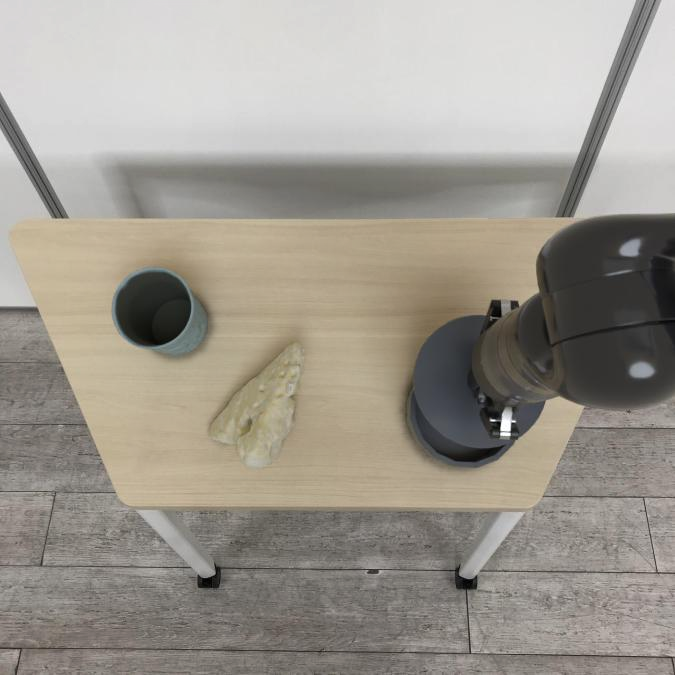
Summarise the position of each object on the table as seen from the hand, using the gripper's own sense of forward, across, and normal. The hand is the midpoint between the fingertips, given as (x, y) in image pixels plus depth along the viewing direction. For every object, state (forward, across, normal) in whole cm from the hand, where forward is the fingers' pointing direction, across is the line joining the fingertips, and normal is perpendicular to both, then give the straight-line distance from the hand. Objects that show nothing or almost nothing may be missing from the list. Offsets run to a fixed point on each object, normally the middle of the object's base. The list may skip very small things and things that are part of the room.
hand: (483, 378), depth 66 cm
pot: (+17, -3, 0) cm, 17 cm away
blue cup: (+17, +7, +39) cm, 43 cm away
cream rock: (+17, -2, +26) cm, 31 cm away
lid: (+2, 0, 0) cm, 2 cm away
